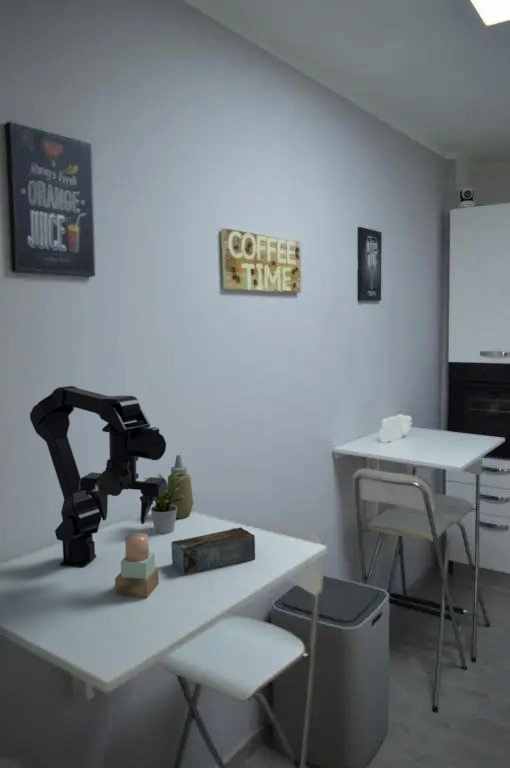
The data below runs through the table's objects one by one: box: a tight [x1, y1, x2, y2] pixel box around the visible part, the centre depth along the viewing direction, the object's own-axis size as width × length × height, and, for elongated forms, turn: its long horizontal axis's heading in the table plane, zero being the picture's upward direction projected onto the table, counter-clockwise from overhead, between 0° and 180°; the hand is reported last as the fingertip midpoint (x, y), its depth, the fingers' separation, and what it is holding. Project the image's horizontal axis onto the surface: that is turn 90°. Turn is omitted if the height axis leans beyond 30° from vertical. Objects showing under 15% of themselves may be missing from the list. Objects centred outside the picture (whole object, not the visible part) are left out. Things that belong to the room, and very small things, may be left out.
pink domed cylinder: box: [124, 532, 150, 562], centre depth 131 cm, size 5×5×4 cm
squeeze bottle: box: [166, 454, 194, 519], centre depth 180 cm, size 8×8×18 cm
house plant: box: [143, 472, 194, 535], centre depth 168 cm, size 14×14×16 cm
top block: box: [120, 552, 156, 579], centre depth 132 cm, size 6×6×4 cm
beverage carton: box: [170, 527, 256, 576], centre depth 147 cm, size 8×19×7 cm, turn 119°
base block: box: [114, 566, 160, 599], centre depth 132 cm, size 7×7×4 cm
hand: (123, 521), depth 138 cm, fingers open, 9 cm apart
